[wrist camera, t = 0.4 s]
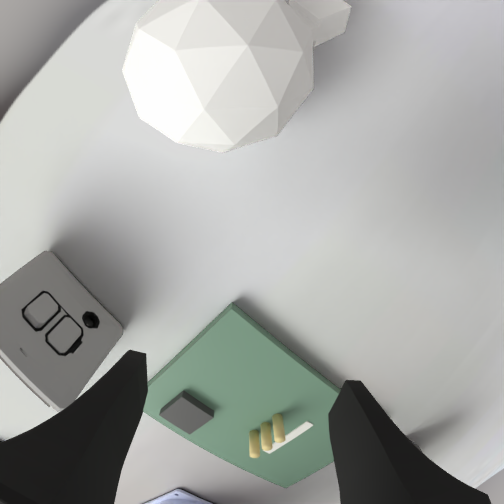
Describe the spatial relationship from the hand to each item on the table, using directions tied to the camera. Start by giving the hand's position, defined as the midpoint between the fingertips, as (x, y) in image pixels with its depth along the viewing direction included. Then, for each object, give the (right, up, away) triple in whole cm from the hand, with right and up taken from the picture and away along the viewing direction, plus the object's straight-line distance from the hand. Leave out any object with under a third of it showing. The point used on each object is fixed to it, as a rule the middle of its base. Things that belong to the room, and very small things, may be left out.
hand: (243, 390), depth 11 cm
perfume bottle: (0, +15, +7) cm, 17 cm away
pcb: (+1, -9, +13) cm, 16 cm away
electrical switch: (-13, +1, +11) cm, 17 cm away
